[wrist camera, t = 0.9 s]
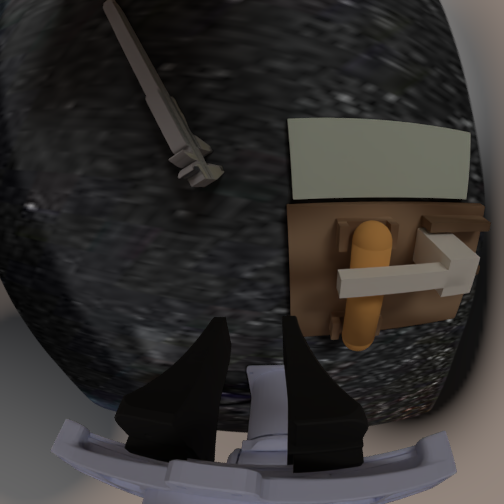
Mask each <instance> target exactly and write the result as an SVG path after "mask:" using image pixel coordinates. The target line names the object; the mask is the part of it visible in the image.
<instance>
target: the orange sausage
mask: <svg viewBox="0 0 504 504" xmlns="http://www.w3.org/2000/svg"><path fill="white" fill-rule="evenodd" d="M391 250H392V236H391V233H390V231H389V229H388V228H387V227H386V226H385V225H384V224H383V223H381V222H379V221H374V220H370V221H366V222H363V223H362V224H360V225H359V226H358V227H357V228H356V230H355V231H354V234H353V238H352V249H351V262H350V269H354V268H370V267H385V266H389V264H390V257H391ZM383 297H384V295H375V296H364V297H351V298H347V301H346V309H345V317H344V324H343V331H342V339H343V342H344V344H345V345H346V347H347V348H349V349H351V350H353V351H361V350H364V349H366V348H368V347H369V346H370V345H371V343H372V342H373V340H374V337H375V333H376V329H377V324H378V320H379V316H380V311H381V307H382V302H383Z"/></svg>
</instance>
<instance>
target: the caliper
mask: <svg viewBox="0 0 504 504" xmlns="http://www.w3.org/2000/svg"><path fill="white" fill-rule="evenodd" d="M103 5H104V6H103V9H104V12H105V14H106V16H107V18H108V20H109V22H110V24H111V26H112V28H113V30H114V32H115V35H116V37H117V39H118V41H119V43H120V45H121V47H122V49H123V51H124V53H125V55H126V57H127V59H128V61H129V63H130V65H131V67H132V69H133V71H134V73H135V75H136V77H137V79H138V81H139V83H140V85H141V87H142V88H143V90H144V92H145V94H146V96H147V97H146V98H145V100H146V102H147V104H148V106H149V108H150V110H151V112H152V114H153V115H154V117H155V119H156V121H157V123H158V125H159V127H160V129H161V131H162V133H163V135H164V137H165V139H166V141H167V143H168V145H169V147H170V149H171V150H172V152H173V153H174V154H175V155H174V156H172V157H171V158H169V161H170V162H172V163H173V164H174V165H176V166H177V167H179V168H184V169H182V170H181V171H180V172H179V174H178V178H179V179H186V178H187V179H188V181H189V183H190V185H191V186H192V187H205V186H207V185H208V184H210V183H212V182H213V181H215V180H217V179H218V178H219V177H220V176H221V175H222V174H223V173H224V170H223V167H222V166H218V165H214V164H209V163H206V162H205V160H204V158H203V157H205V156H207V155H208V154H210V153H211V152H213V151H212V149H211V147H210V146H209V145H208V144H206V143H205V142H204V141H202V140H201V139H199V138H198V137H197V136H195V135H194V134H192V132H191V130H190V129H189V127H188V124H187V121H186V119H185V116H184V114H183V112H182V111H181V109H180V108H179V106H178V103H177V101H176V100H175V98H174V97H172V96H170V95H169V93H168V92H167V90H166V88H165V86H164V84H163V83H162V81H161V79H160V77H159V75H158V73H157V72H156V70H155V68H154V66H153V64H152V63H151V61H150V59H149V57H148V55H147V54H146V52H145V50H144V48H143V46H142V45H141V43H140V41H139V39H138V37H137V35H136V34H135V32H134V30H133V28H132V26H131V25H130V23H129V21H128V19H127V17H126V15H125V14H124V12H123V11H122V9H121V8H120V6H119V5H118V4H117V3H116V1H115V0H107V1H105V2H104V3H103Z"/></svg>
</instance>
